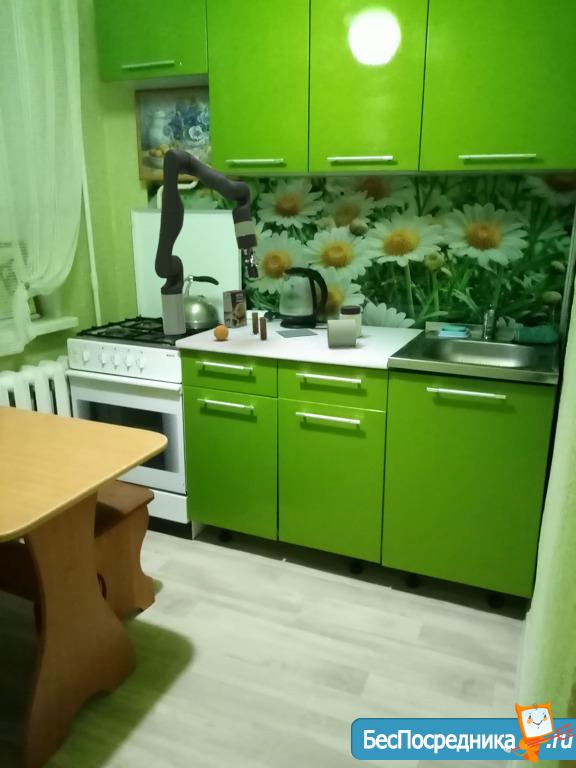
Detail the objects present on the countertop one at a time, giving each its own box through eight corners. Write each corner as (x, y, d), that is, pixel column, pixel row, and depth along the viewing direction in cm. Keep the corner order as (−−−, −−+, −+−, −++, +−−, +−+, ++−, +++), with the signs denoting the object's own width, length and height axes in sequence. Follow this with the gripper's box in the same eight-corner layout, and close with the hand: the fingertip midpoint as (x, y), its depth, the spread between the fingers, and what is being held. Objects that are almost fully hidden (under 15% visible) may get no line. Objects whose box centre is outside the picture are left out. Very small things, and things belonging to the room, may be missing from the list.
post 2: (261, 340, 239) (260, 318, 236) (259, 339, 241) (258, 317, 239) (267, 339, 239) (266, 317, 237) (266, 338, 242) (265, 316, 239)
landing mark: (285, 337, 242) (285, 337, 242) (275, 331, 255) (275, 331, 255) (317, 334, 246) (317, 334, 246) (306, 328, 259) (306, 328, 259)
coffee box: (234, 328, 266) (232, 292, 261) (223, 327, 269) (221, 291, 265) (247, 325, 273) (246, 289, 268) (237, 324, 276) (235, 289, 272)
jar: (342, 339, 236) (341, 309, 233) (337, 335, 244) (337, 306, 241) (363, 337, 237) (364, 307, 234) (358, 333, 245) (358, 304, 242)
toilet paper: (353, 342, 229) (353, 317, 226) (356, 348, 219) (356, 321, 217) (327, 343, 229) (327, 318, 226) (329, 349, 219) (328, 322, 217)
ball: (215, 342, 238) (214, 327, 237) (213, 339, 244) (212, 324, 242) (230, 340, 240) (229, 326, 238) (227, 338, 245) (226, 323, 244)
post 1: (253, 334, 251) (252, 313, 248) (252, 333, 253) (251, 312, 251) (259, 334, 251) (258, 312, 249) (258, 332, 254) (257, 312, 251)
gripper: (240, 238, 232) (248, 280, 234) (231, 235, 218) (240, 279, 220) (258, 234, 231) (266, 276, 233) (251, 231, 217) (260, 275, 219)
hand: (254, 277), depth 227 cm, fingers open, 8 cm apart
